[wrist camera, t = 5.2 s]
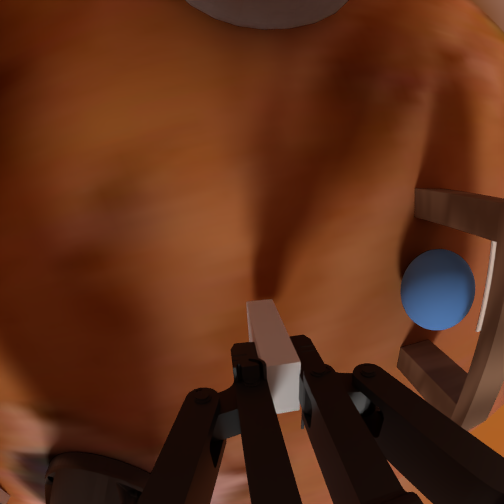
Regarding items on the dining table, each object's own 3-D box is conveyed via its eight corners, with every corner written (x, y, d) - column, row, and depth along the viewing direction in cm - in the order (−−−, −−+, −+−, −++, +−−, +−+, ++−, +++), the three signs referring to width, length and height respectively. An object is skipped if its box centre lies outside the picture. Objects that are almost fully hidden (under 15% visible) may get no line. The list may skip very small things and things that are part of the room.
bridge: (424, 359, 23) (485, 420, 14) (396, 366, 23) (456, 436, 14) (445, 189, 20) (542, 206, 11) (414, 188, 19) (516, 206, 10)
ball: (474, 319, 19) (452, 355, 16) (414, 301, 23) (382, 329, 20) (487, 249, 17) (471, 272, 14) (422, 235, 21) (390, 252, 18)
